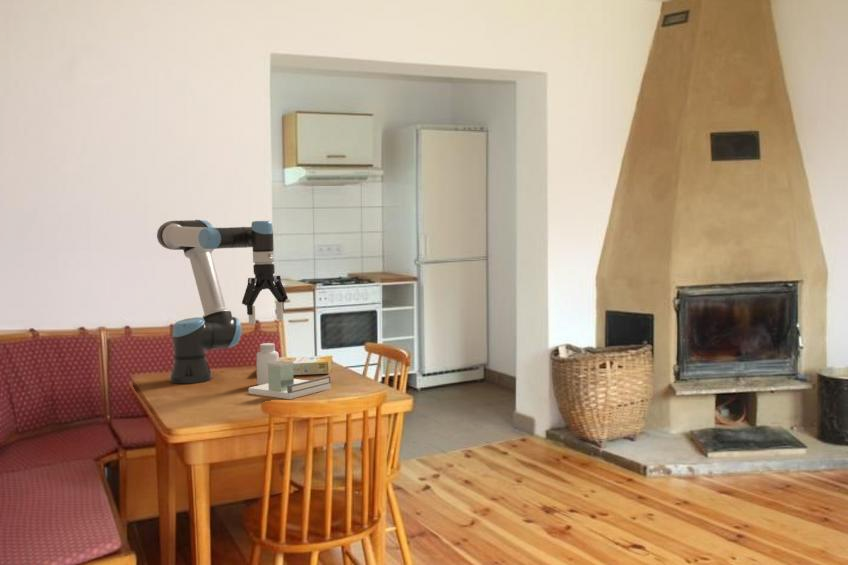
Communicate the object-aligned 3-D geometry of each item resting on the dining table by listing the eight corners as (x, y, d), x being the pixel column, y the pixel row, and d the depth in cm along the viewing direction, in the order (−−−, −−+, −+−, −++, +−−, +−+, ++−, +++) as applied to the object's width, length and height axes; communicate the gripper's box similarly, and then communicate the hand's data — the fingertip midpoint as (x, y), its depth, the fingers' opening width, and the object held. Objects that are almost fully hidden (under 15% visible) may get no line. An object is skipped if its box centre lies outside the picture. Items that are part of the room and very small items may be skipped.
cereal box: (328, 361, 318) (255, 363, 317) (329, 375, 319) (255, 378, 318) (332, 354, 339) (263, 356, 338) (332, 367, 339) (264, 370, 338)
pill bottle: (274, 386, 297) (273, 345, 296) (254, 386, 299) (252, 345, 298) (283, 382, 305) (281, 342, 304) (262, 382, 307) (261, 342, 306)
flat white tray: (248, 393, 286) (248, 380, 286) (290, 383, 302) (289, 371, 302) (290, 399, 274) (289, 386, 274) (331, 388, 291) (330, 376, 290)
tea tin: (268, 389, 282) (267, 363, 281) (281, 386, 287) (280, 360, 286) (281, 391, 278) (280, 364, 277) (294, 388, 283) (293, 361, 282)
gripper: (244, 265, 287) (247, 326, 288) (295, 261, 307) (298, 318, 308) (230, 265, 291) (232, 325, 292) (281, 261, 311) (283, 317, 313)
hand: (266, 321), depth 300 cm, fingers open, 13 cm apart
